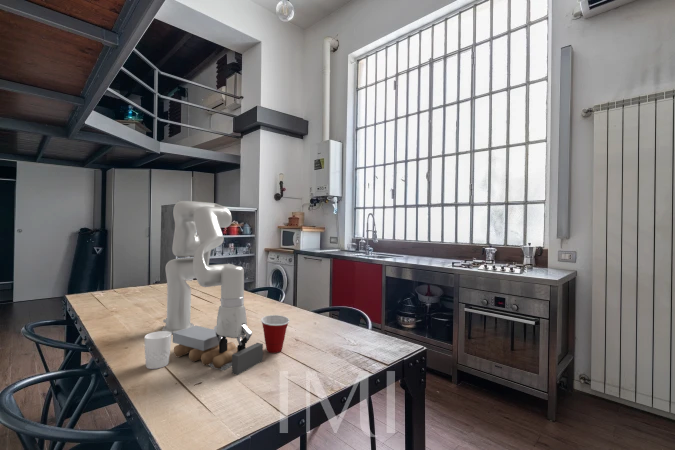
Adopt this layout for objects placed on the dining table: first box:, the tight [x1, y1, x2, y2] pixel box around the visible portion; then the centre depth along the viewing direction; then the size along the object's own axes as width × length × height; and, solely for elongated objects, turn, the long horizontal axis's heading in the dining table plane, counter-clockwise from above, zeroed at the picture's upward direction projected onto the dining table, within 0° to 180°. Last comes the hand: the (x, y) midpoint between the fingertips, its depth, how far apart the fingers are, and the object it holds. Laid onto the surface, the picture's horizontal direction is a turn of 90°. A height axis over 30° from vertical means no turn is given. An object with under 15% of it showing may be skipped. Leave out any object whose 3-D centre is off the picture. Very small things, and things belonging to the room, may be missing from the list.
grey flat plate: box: [208, 362, 232, 371], centre depth 111 cm, size 6×12×1 cm, turn 153°
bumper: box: [231, 342, 264, 376], centre depth 107 cm, size 2×12×6 cm, turn 153°
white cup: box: [144, 330, 172, 370], centre depth 107 cm, size 8×8×10 cm
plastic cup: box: [260, 314, 291, 354], centre depth 122 cm, size 11×11×12 cm
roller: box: [213, 346, 247, 369], centre depth 111 cm, size 4×12×4 cm
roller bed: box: [173, 341, 237, 366], centre depth 116 cm, size 18×12×4 cm, turn 63°
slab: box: [172, 325, 220, 351], centre depth 118 cm, size 16×10×4 cm, turn 63°
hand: (232, 353), depth 110 cm, fingers open, 7 cm apart
